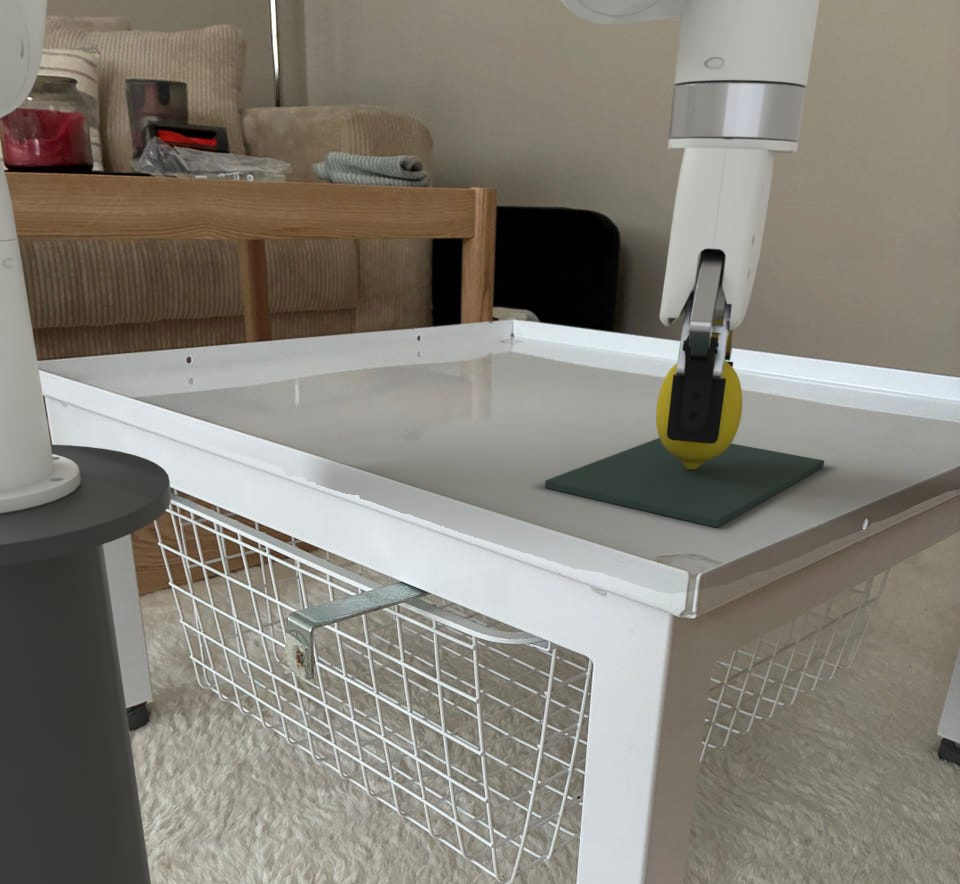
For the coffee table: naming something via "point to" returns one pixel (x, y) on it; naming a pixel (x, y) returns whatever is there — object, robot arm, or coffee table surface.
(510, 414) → the coffee table surface
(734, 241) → the robot arm
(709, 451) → the lemon
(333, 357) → the coffee table surface
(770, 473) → the edge mat
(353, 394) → the coffee table surface
